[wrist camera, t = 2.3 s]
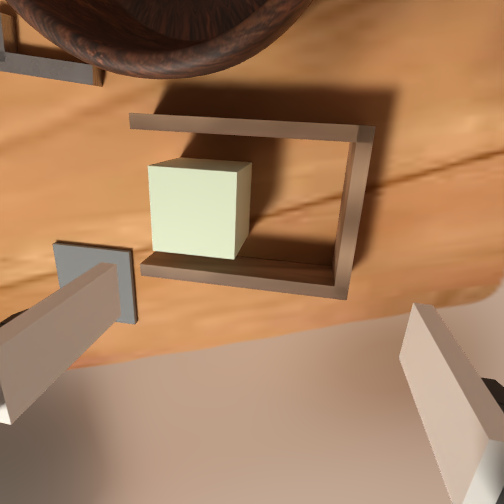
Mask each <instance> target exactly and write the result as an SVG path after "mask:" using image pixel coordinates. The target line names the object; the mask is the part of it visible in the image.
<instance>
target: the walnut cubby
mask: <svg viewBox="0 0 504 504" xmlns="http://www.w3.org/2000/svg"><path fill="white" fill-rule="evenodd" d="M129 120H130V129H142V130H159V131H175V132H192V133H209V134H225V135H242V136H259V137H276V138H292V139H309V140H326V141H343V142H350V145H349V152H348V159H347V166H346V173H345V180H344V186H343V193H342V200H341V207H340V214H339V221H338V228H337V235H336V242H335V248H334V255H333V262H332V266H323V265H313V264H304V263H295V262H286V261H276V260H267V259H258V258H249V257H239V256H236V257H235V259H225V258H216V257H207V256H197V255H188V254H179V253H170V252H161V251H155V252H154V253H153V254H152V255H150V256H149V257H148V258H147V259H145V260H144V261H143V262H142V263H141V264H140V270H141V276H149V277H158V278H166V279H174V280H183V281H191V282H199V283H207V284H216V285H224V286H232V287H241V288H249V289H257V290H265V291H274V292H282V293H290V294H299V295H307V296H315V297H323V298H332V299H340V300H347V295H348V289H349V283H350V277H351V271H352V265H353V259H354V253H355V247H356V241H357V235H358V229H359V223H360V218H361V212H362V206H363V200H364V194H365V188H366V182H367V176H368V170H369V164H370V158H371V152H372V146H373V140H374V134H375V128H376V126H365V125H346V124H327V123H308V122H289V121H271V120H252V119H233V118H214V117H195V116H177V115H158V114H139V113H129Z"/></svg>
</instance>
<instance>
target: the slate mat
mask: <svg viewBox="0 0 504 504" xmlns="http://www.w3.org/2000/svg"><path fill="white" fill-rule="evenodd" d="M53 250H54V255H55V261H56V267H57V273H58V279H59V285H60V289H61V288H62V287H64V286H65V285H67V284H68V283H70V282H71V281H73V280H74V279H76V278H78V277H79V276H81V275H82V274H84V273H85V272H87V271H88V270H90V269H91V268H93V267H95V266H96V265H98V264H99V263H101V262H104V263H112V264H117V275H118V286H119V298H120V309H121V316H120V317H119V318H118V319H117V320H116V321H115V322H121V323H128V324H136V323H137V316H136V304H135V292H134V280H133V268H132V255H131V251H129V250H120V249H111V248H101V247H92V246H83V245H74V244H65V243H56V242H55V243H53Z"/></svg>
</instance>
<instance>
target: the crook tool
mask: <svg viewBox="0 0 504 504" xmlns="http://www.w3.org/2000/svg"><path fill="white" fill-rule="evenodd" d="M0 71H4V72H10V73H17V74H23V75H30V76H36V77H43V78H49V79H56V80H62V81H69V82H75V83H81V84H88V85H94V86H101V87H102V69H100V68H98V67H95V66H93V65H89V64H83V63H76V62H69V61H62V60H56V59H49V58H42V57H35V56H29V55H22V54H18V50H17V40H16V29H15V19H14V17H12V16H10V15H7V14H4V13H1V12H0Z"/></svg>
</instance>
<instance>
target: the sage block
mask: <svg viewBox="0 0 504 504" xmlns="http://www.w3.org/2000/svg"><path fill="white" fill-rule="evenodd" d="M148 176H149V192H150V209H151V226H152V243H153V251H161V252H170V253H179V254H188V255H197V256H207V257H216V258H225V259H235V257H236V256H237V254H238V252H239V250H240V249H241V247H242V245H243V243H244V242H245V240H246V238H247V236H248V235H249V221H250V200H251V179H252V162H241V161H226V160H212V159H197V158H183V157H179V158H176V159H172V160H168V161H164V162H160V163H157V164H153V165H149V166H148Z"/></svg>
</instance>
